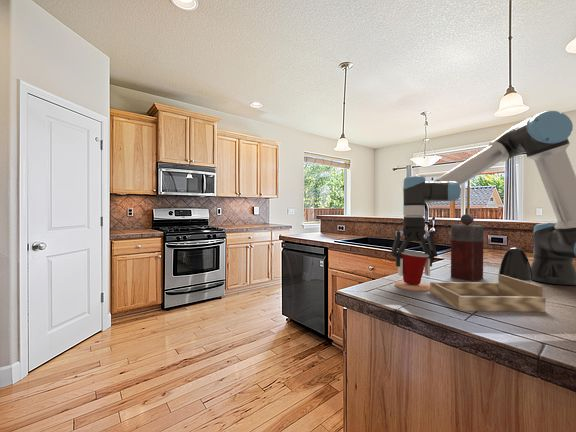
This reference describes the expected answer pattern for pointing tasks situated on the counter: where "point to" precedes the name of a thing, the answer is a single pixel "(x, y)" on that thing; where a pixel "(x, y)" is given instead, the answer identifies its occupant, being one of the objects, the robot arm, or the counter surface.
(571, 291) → the counter surface
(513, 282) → the tray
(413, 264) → the plastic cup
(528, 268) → the black bullet-shaped dome
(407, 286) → the saucer
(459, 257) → the red canister with knob
